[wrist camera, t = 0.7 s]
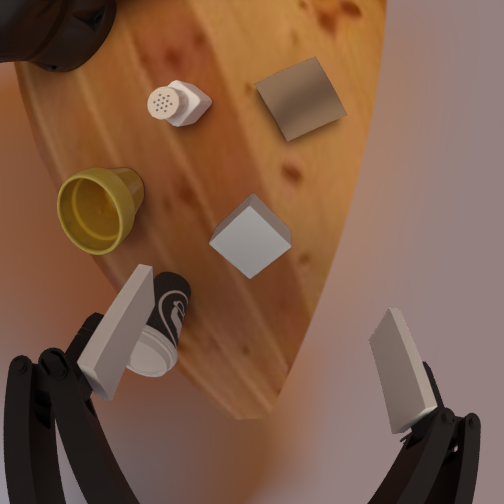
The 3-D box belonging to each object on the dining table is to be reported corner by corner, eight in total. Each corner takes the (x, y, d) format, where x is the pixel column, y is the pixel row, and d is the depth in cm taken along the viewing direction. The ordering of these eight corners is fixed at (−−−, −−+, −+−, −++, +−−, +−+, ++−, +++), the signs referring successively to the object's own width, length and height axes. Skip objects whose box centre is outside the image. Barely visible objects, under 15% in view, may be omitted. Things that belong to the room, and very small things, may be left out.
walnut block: (257, 88, 27) (254, 83, 23) (309, 64, 25) (315, 56, 21) (285, 137, 30) (287, 141, 26) (336, 114, 28) (347, 114, 24)
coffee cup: (163, 252, 39) (119, 320, 26) (211, 290, 42) (187, 366, 29) (136, 286, 43) (96, 350, 30) (179, 318, 46) (153, 387, 33)
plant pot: (118, 232, 38) (84, 266, 30) (86, 176, 34) (44, 198, 25) (169, 206, 36) (138, 239, 27) (135, 141, 31) (93, 156, 23)
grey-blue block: (216, 226, 37) (208, 243, 32) (253, 192, 34) (249, 205, 30) (253, 259, 39) (249, 279, 35) (289, 228, 36) (291, 246, 32)
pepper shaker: (193, 125, 30) (164, 132, 22) (171, 106, 29) (135, 107, 21) (215, 101, 28) (192, 98, 20) (192, 82, 27) (161, 74, 19)
